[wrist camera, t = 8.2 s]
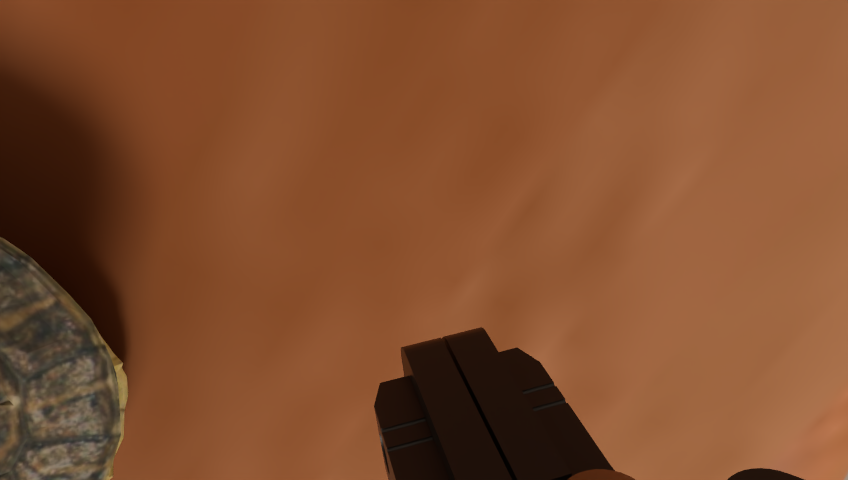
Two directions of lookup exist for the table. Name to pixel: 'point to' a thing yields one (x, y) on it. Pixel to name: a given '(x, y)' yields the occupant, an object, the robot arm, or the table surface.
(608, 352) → the table surface
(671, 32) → the table surface
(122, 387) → the turtle shell
